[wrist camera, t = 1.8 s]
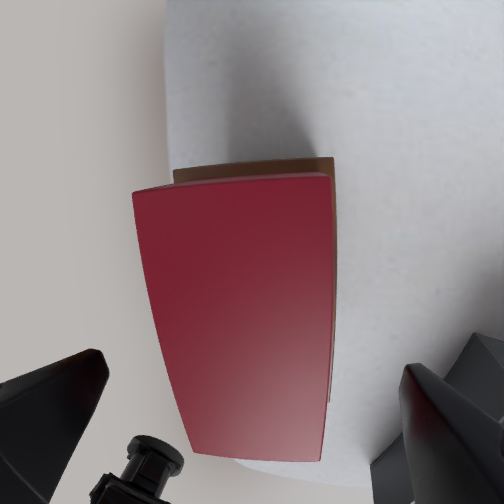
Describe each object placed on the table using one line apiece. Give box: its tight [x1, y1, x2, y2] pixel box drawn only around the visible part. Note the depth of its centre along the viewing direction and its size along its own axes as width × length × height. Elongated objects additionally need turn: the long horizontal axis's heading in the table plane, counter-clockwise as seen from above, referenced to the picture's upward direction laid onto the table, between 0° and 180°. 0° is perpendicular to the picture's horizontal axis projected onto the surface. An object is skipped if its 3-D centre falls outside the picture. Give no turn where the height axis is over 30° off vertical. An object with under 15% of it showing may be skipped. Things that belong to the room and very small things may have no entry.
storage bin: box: [370, 333, 504, 504], centre depth 18 cm, size 19×19×9 cm
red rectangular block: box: [132, 172, 334, 462], centre depth 10 cm, size 10×5×4 cm, turn 5°
